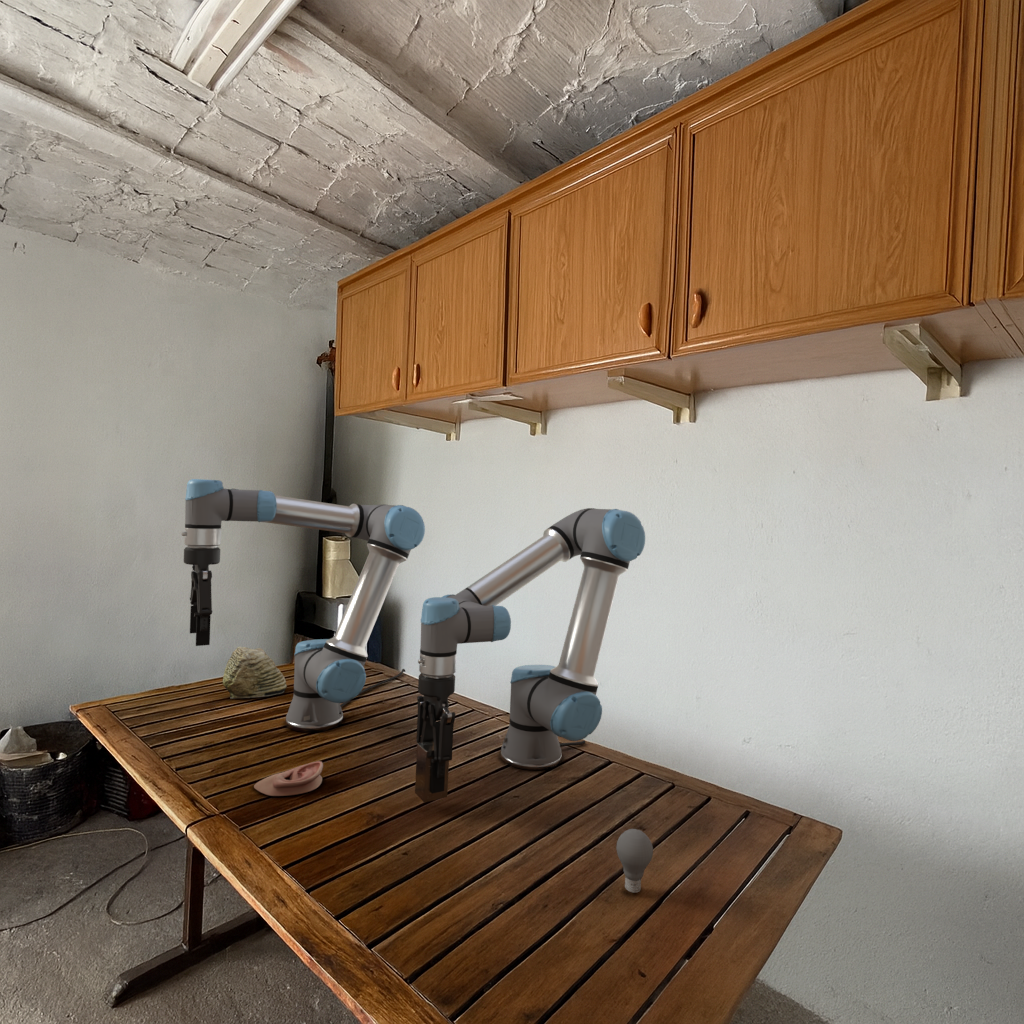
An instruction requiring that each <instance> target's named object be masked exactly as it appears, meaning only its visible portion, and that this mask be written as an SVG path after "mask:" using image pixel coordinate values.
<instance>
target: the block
mask: <svg viewBox="0 0 1024 1024" xmlns="http://www.w3.org/2000/svg"><path fill="white" fill-rule="evenodd" d="M431 759H434V742H433V741H429V742H423V743H417V742H416V761H415V781H414V782H415V783H414V794H415V795H416V796H417V797H418V798H419V799H420V800H421V801H422V802H423V803H428V802H432V801H436V800H441V799H446V798H448V790H449V772H450V771H449V768H450V761H446V763H445V784H444V791H442V792H437V793H431V792H430V791H431V771H432V762H431Z"/></svg>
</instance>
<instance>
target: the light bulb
mask: <svg viewBox="0 0 1024 1024" xmlns="http://www.w3.org/2000/svg"><path fill="white" fill-rule="evenodd" d="M615 849H616V854H617V857H618V859H619V861H620V863H621V865H622V867H623V873H624V874H623V875H624V876H625V878H624V888H625V890H627V891H628V892H630V893H634V894H635V893H639V892H640V891H641V889H642V887H641V886H642V879H643V877H644V875H645V871H646V868H647V867H648V866H649V864H650V863H651V861H652V859H653V855H654V847H653V843H652V841H651V838H649V836H648V835H647V834H646V833H645V832H643V831H642V830H641V829H636V828H629V829H627V830H625V831H623V832H622V833H621V834H620V835H619V837H618V839H617V841H616V847H615Z"/></svg>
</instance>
